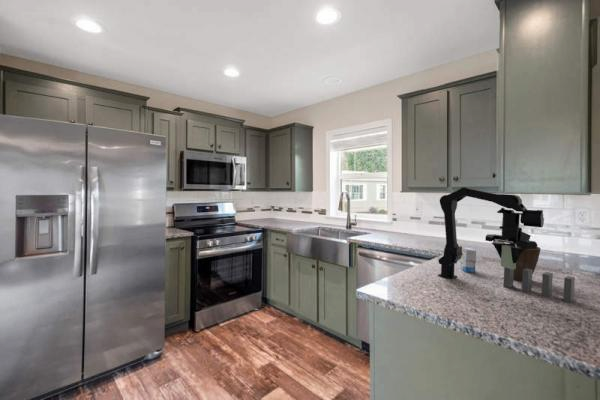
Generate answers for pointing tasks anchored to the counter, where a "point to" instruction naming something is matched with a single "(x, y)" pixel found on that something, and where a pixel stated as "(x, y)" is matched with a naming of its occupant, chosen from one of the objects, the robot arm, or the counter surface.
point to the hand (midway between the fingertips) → (508, 261)
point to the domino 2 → (527, 280)
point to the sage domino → (507, 257)
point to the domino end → (569, 289)
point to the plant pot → (526, 261)
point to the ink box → (468, 260)
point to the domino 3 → (547, 284)
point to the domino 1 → (508, 277)
